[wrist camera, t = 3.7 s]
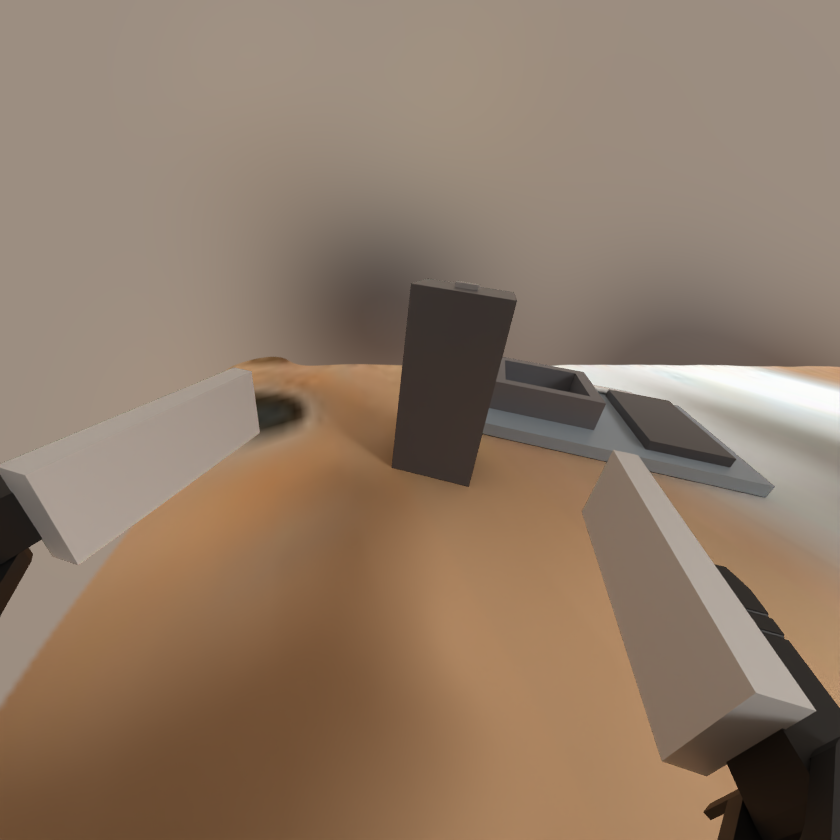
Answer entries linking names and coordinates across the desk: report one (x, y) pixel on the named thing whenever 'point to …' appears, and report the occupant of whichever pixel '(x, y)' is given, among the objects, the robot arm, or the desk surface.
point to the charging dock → (610, 426)
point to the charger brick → (449, 376)
